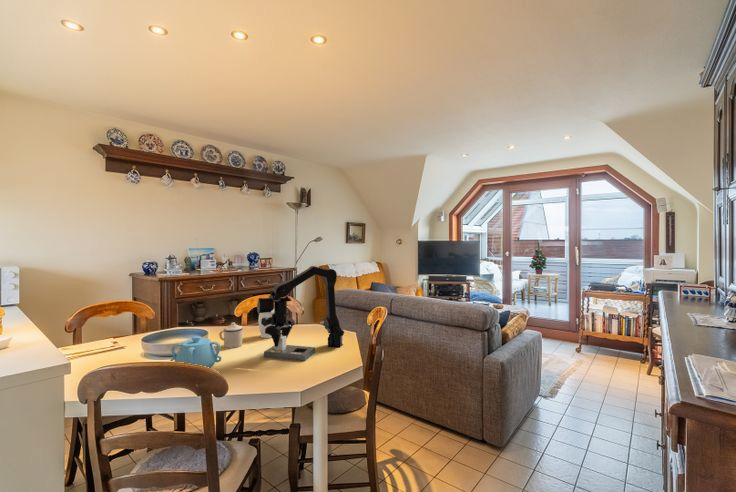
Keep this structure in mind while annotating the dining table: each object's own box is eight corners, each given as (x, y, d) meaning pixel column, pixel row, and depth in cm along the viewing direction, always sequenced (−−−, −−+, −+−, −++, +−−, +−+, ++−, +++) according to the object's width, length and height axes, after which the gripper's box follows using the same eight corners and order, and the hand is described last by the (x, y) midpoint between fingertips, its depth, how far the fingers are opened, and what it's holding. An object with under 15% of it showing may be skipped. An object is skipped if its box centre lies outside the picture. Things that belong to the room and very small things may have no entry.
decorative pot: (224, 369, 142) (225, 336, 142) (183, 380, 130) (184, 345, 130) (206, 360, 153) (207, 329, 153) (167, 370, 141) (167, 337, 140)
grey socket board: (315, 353, 163) (315, 347, 163) (305, 362, 151) (305, 355, 151) (276, 350, 167) (276, 343, 167) (263, 358, 156) (263, 351, 156)
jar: (274, 339, 186) (274, 311, 186) (255, 338, 186) (255, 311, 186) (279, 333, 197) (280, 307, 196) (262, 333, 197) (262, 307, 197)
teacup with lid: (245, 343, 177) (246, 321, 177) (236, 349, 168) (236, 325, 168) (224, 342, 179) (224, 320, 179) (214, 347, 170) (214, 324, 170)
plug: (286, 352, 162) (286, 336, 162) (282, 355, 158) (282, 338, 158) (277, 352, 163) (277, 335, 163) (272, 354, 159) (273, 337, 159)
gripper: (274, 306, 171) (274, 337, 171) (254, 314, 153) (253, 349, 153) (295, 307, 169) (294, 339, 169) (277, 315, 150) (276, 351, 151)
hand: (280, 344), depth 160 cm, fingers open, 7 cm apart
